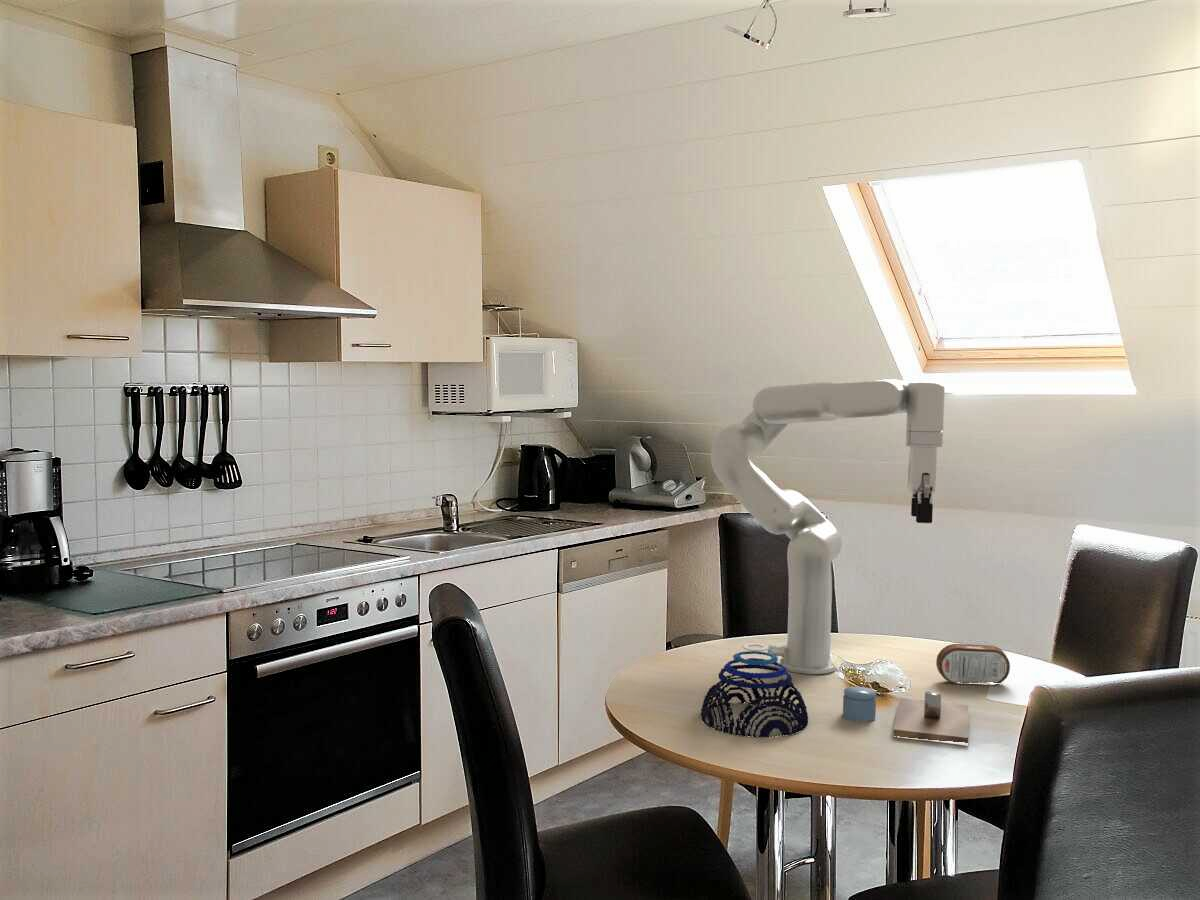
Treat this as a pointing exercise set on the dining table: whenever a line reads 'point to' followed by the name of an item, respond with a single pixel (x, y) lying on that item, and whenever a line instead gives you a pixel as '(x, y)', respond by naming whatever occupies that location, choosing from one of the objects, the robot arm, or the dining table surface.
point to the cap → (859, 703)
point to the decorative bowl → (754, 686)
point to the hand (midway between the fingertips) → (921, 519)
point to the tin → (972, 664)
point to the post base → (931, 722)
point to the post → (932, 705)
